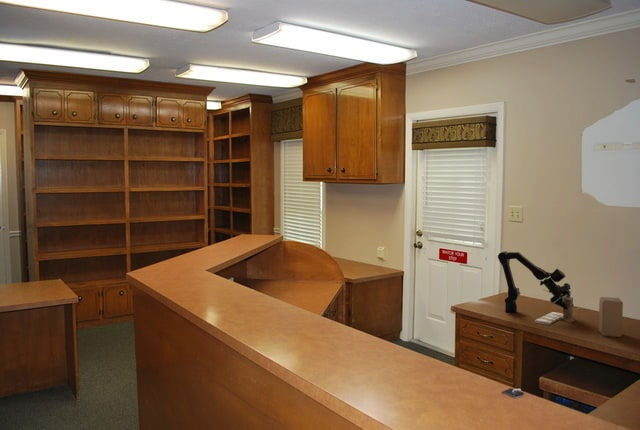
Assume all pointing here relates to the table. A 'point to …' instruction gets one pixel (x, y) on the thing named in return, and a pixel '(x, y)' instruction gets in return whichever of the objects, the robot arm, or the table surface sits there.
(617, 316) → the wooden block
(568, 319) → the square column stand
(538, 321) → the ash board
